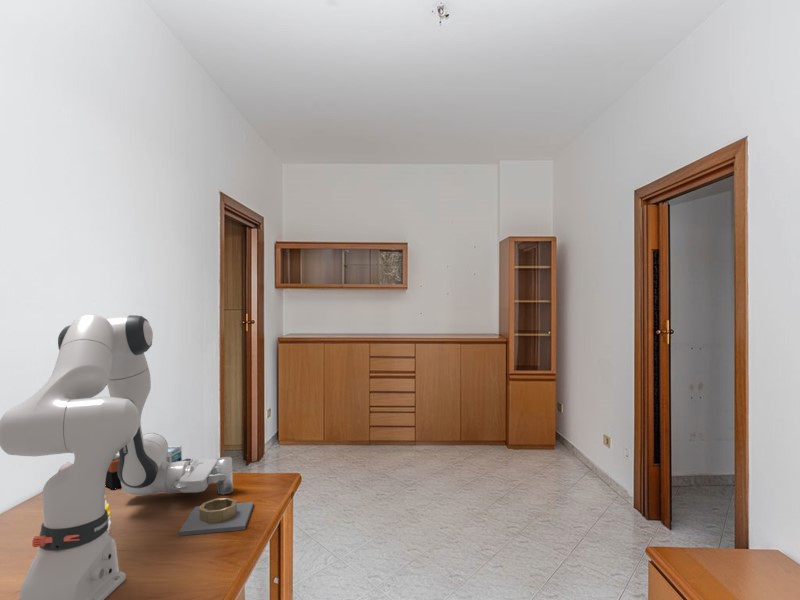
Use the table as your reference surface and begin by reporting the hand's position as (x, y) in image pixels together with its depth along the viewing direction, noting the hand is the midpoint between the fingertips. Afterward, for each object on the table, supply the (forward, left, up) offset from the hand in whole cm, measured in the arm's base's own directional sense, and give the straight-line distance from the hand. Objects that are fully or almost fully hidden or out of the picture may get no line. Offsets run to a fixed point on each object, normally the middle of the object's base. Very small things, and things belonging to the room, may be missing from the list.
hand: (227, 473), depth 162 cm
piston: (0, +1, -6) cm, 6 cm away
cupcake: (+10, +50, -6) cm, 51 cm away
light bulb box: (+16, +24, -6) cm, 30 cm away
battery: (+14, +38, -6) cm, 41 cm away
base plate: (-20, -1, -6) cm, 21 cm away
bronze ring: (-20, -1, -5) cm, 20 cm away
